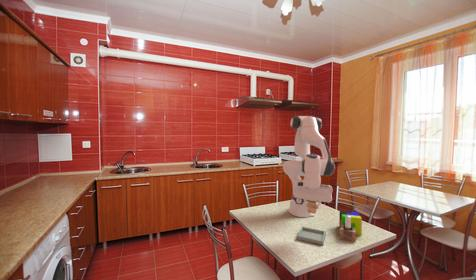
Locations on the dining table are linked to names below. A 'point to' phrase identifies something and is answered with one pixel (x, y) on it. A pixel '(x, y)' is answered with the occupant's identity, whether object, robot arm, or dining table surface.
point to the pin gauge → (348, 222)
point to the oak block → (312, 206)
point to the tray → (311, 235)
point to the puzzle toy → (352, 220)
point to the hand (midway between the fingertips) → (312, 207)
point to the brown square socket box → (348, 233)
